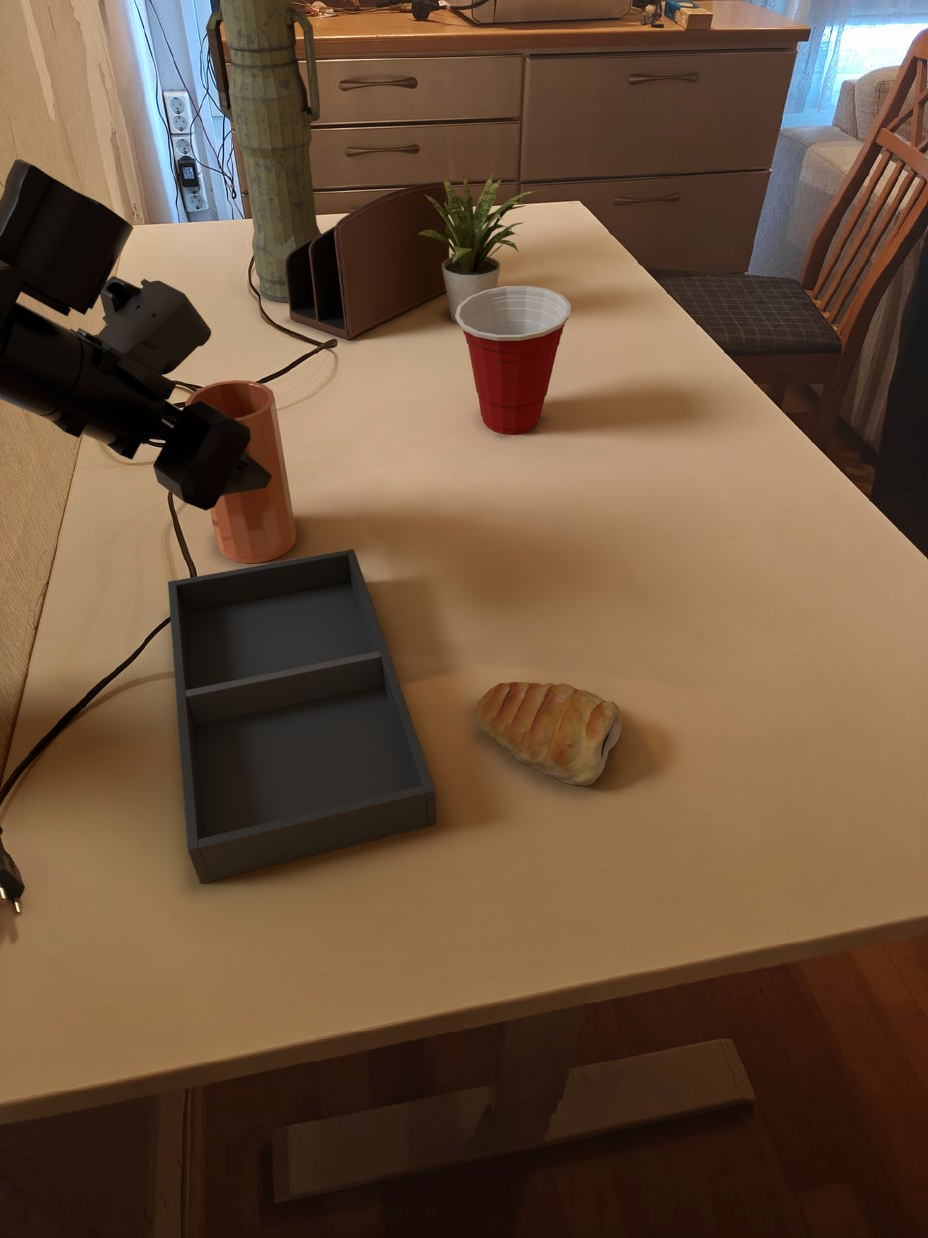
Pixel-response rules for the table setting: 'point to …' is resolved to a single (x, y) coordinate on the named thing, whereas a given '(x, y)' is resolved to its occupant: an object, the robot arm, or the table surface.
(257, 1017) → the table surface
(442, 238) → the house plant
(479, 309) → the plastic cup
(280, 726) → the tray
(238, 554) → the cup
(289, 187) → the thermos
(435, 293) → the letter holder
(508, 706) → the pastry
